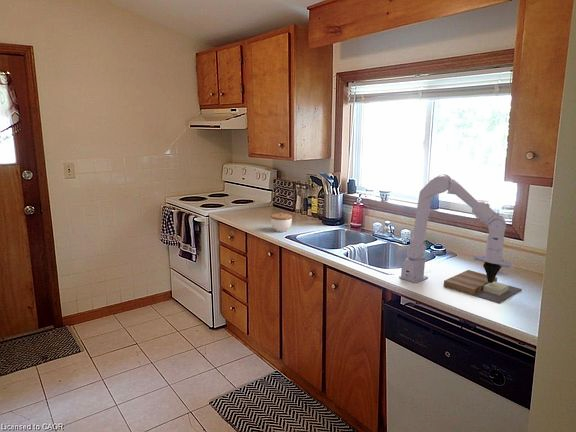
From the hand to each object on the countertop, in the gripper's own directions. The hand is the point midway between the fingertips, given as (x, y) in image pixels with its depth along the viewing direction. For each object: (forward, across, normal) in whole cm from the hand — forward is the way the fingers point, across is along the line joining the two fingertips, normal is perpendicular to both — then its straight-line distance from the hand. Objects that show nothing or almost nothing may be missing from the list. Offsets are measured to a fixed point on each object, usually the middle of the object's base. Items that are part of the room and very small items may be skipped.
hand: (490, 282), depth 164 cm
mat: (+3, -3, 0) cm, 4 cm away
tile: (+3, -2, 0) cm, 3 cm away
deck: (+3, +7, 0) cm, 8 cm away
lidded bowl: (+3, +123, 0) cm, 123 cm away
